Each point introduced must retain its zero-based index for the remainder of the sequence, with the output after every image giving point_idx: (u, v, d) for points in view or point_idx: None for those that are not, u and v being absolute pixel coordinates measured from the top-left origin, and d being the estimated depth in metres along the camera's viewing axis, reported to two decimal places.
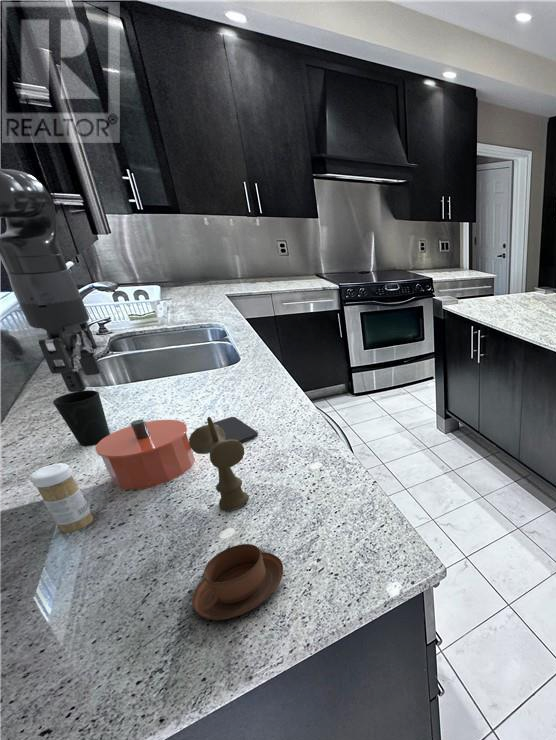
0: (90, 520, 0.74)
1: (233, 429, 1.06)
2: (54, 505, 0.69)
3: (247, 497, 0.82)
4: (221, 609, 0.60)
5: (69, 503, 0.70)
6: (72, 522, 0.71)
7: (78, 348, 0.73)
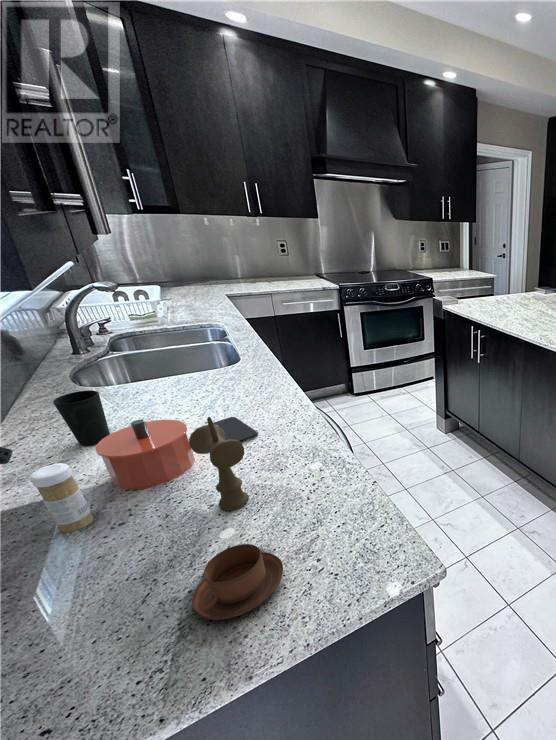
0: (90, 520, 0.74)
1: (233, 429, 1.06)
2: (54, 505, 0.69)
3: (247, 497, 0.82)
4: (221, 609, 0.60)
5: (69, 503, 0.70)
6: (72, 522, 0.71)
7: None
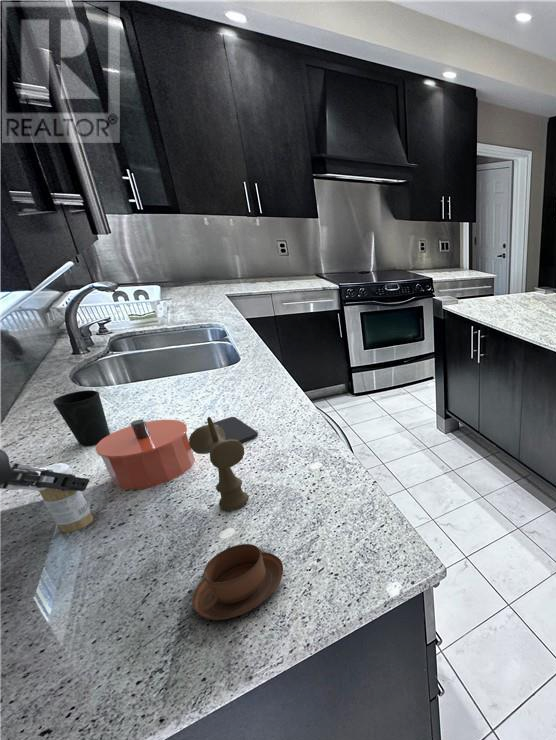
0: (90, 520, 0.74)
1: (233, 429, 1.06)
2: (54, 505, 0.69)
3: (247, 497, 0.82)
4: (221, 609, 0.60)
5: (70, 503, 0.70)
6: (72, 522, 0.71)
7: None
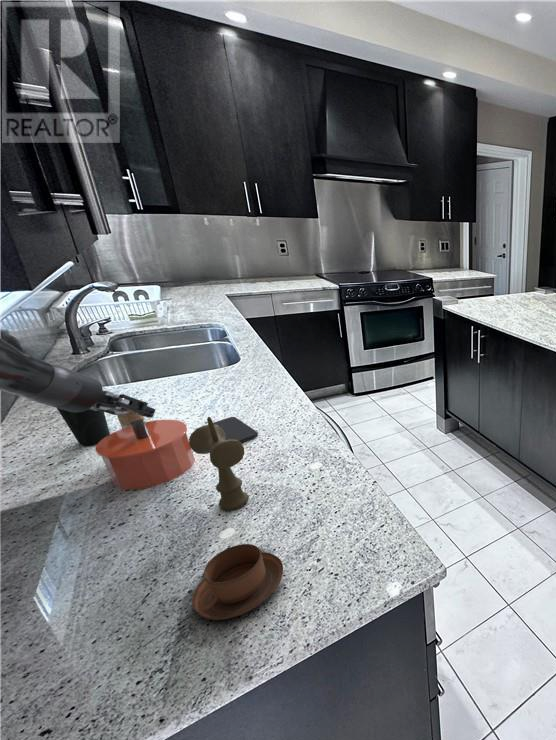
0: None
1: (233, 429, 1.06)
2: None
3: (247, 497, 0.82)
4: (221, 609, 0.60)
5: None
6: None
7: (90, 408, 0.87)
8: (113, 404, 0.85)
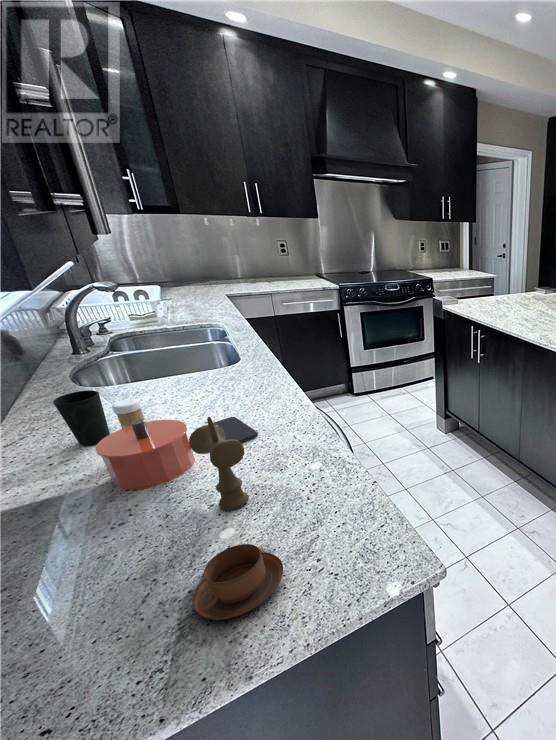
0: None
1: (233, 429, 1.06)
2: None
3: (247, 497, 0.82)
4: (221, 609, 0.60)
5: None
6: None
7: None
8: None
